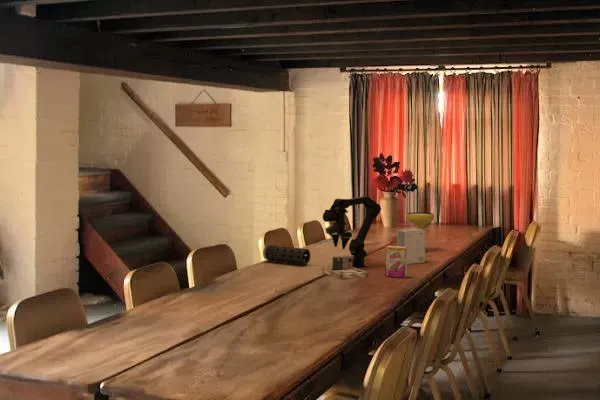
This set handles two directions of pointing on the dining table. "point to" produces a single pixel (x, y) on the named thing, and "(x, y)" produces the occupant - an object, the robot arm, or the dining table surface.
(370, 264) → the dining table surface
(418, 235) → the hard drive box
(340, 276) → the slot rack
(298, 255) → the muzzle brake
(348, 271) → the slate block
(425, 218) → the cocktail glass
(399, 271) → the candy bar box
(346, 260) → the camera
